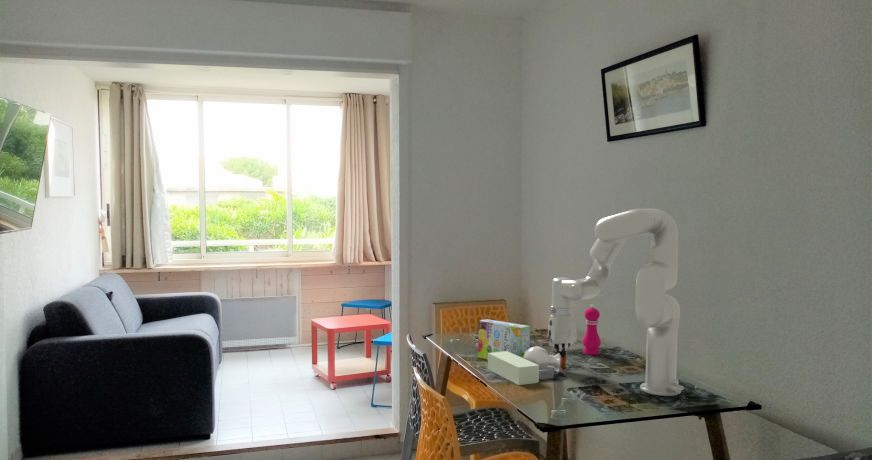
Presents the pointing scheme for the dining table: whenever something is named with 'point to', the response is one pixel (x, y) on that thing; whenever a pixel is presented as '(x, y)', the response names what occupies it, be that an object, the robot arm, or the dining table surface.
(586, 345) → the pepper mill
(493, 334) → the snack box
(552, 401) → the dining table surface
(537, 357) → the potion bottle
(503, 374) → the green and grey block
